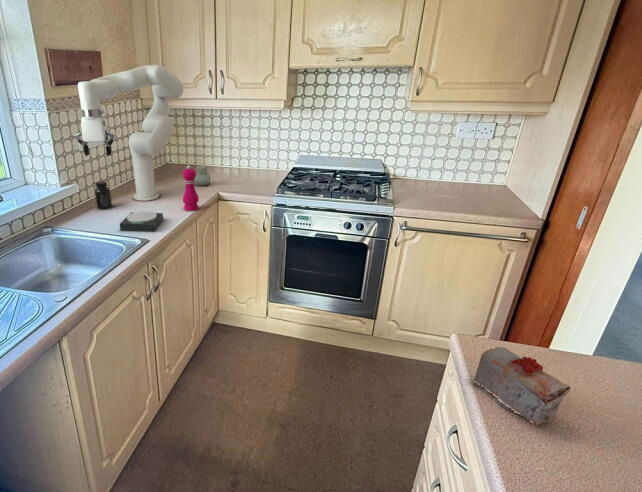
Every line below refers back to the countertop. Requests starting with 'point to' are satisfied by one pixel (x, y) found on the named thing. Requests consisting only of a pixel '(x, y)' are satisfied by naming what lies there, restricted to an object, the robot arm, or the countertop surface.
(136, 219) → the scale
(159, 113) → the robot arm
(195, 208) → the pepper mill
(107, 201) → the supplement bottle
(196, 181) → the air freshener
